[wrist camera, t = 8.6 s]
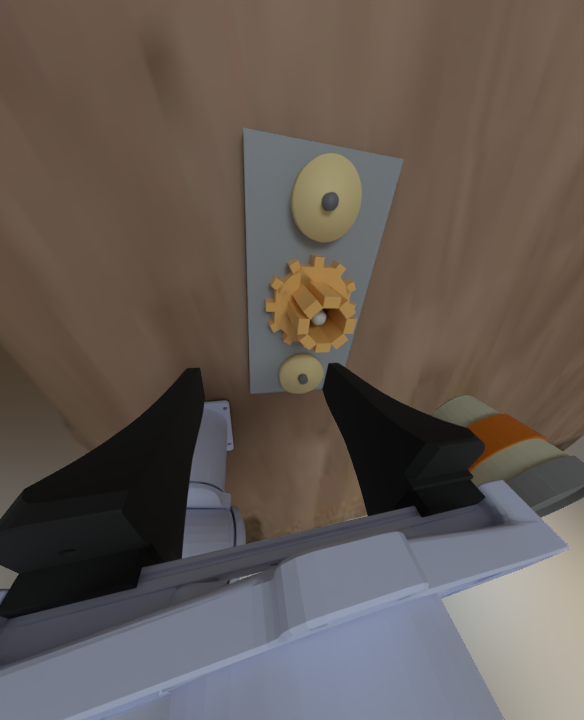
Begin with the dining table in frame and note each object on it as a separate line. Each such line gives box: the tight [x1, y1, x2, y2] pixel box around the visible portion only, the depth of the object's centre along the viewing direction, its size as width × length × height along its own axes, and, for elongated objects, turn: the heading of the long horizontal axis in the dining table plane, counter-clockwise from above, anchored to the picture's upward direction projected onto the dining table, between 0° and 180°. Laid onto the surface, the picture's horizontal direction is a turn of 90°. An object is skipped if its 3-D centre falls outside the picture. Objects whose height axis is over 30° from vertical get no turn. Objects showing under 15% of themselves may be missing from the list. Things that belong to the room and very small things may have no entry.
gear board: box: [243, 128, 404, 394], centre depth 18 cm, size 21×11×5 cm, turn 175°
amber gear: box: [265, 254, 357, 353], centre depth 17 cm, size 8×8×5 cm
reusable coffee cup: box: [432, 395, 584, 518], centre depth 32 cm, size 12×13×15 cm
